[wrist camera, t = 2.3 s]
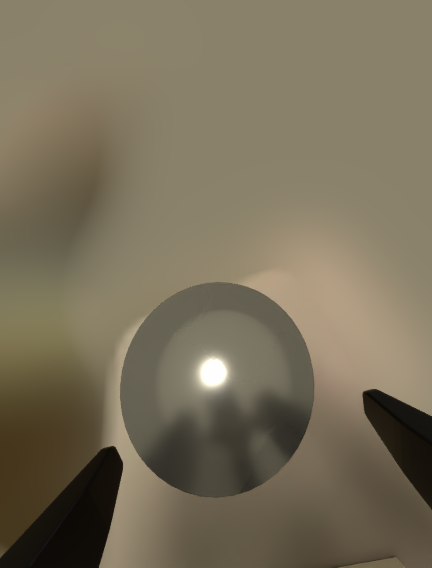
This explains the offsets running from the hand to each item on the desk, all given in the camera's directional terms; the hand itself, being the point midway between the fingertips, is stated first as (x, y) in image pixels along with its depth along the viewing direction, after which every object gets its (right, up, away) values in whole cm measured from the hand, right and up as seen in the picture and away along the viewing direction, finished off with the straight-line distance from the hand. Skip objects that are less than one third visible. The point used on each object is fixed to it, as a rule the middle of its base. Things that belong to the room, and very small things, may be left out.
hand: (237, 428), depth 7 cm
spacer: (+1, -3, +9) cm, 9 cm away
